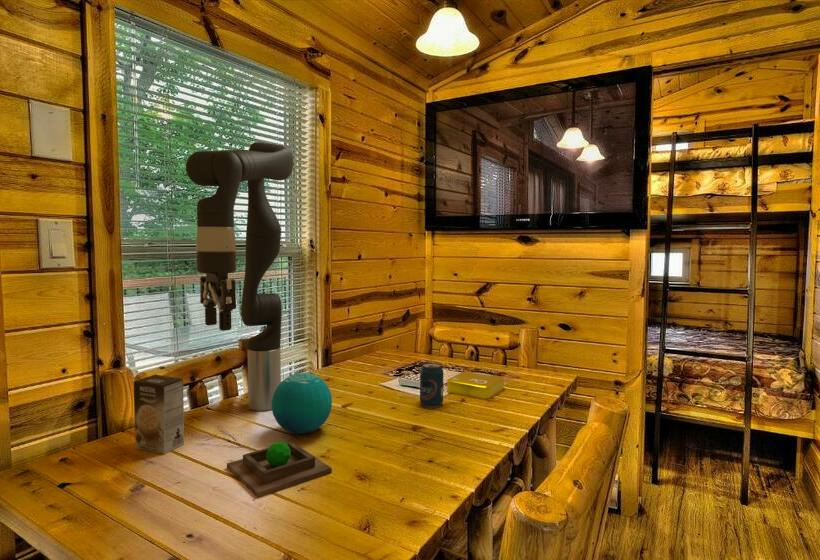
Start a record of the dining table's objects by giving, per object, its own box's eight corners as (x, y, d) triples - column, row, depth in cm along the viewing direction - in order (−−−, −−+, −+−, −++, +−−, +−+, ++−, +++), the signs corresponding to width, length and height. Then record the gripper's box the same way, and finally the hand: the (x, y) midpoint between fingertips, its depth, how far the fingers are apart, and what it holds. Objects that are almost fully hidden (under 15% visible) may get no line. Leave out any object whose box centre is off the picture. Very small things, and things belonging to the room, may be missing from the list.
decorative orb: (259, 438, 119) (258, 378, 118) (294, 418, 133) (293, 364, 132) (312, 447, 114) (312, 384, 113) (342, 425, 128) (342, 369, 127)
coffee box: (133, 449, 113) (131, 380, 111) (156, 438, 119) (154, 374, 117) (164, 454, 110) (162, 384, 108) (186, 444, 116) (184, 377, 114)
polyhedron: (277, 472, 99) (277, 450, 99) (261, 466, 102) (261, 444, 101) (295, 463, 103) (295, 441, 103) (279, 458, 106) (279, 436, 105)
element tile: (505, 389, 163) (505, 375, 163) (487, 401, 150) (487, 386, 150) (464, 382, 171) (465, 369, 171) (444, 393, 158) (444, 378, 158)
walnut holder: (226, 467, 103) (226, 454, 103) (295, 448, 114) (295, 435, 113) (257, 497, 91) (257, 482, 91) (331, 472, 101) (331, 458, 101)
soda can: (416, 406, 144) (416, 366, 143) (424, 399, 150) (424, 361, 149) (438, 409, 141) (439, 368, 140) (446, 402, 148) (446, 363, 147)
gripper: (247, 250, 97) (249, 330, 98) (222, 249, 108) (223, 321, 109) (209, 250, 92) (211, 334, 93) (186, 249, 103) (188, 325, 104)
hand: (217, 327), depth 101 cm, fingers open, 8 cm apart
